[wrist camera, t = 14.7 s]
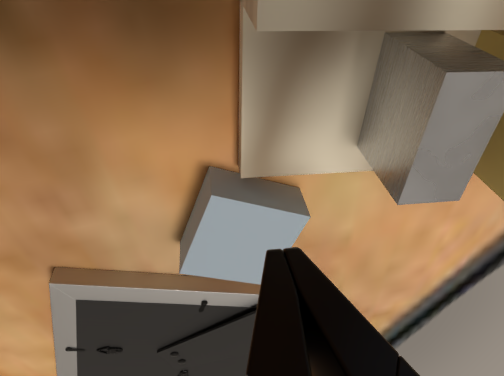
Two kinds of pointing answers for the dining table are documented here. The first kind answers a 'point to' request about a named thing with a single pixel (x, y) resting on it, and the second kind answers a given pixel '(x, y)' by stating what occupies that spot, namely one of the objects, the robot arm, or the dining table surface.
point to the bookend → (430, 114)
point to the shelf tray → (326, 74)
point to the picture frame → (150, 323)
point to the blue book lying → (239, 226)
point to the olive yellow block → (500, 144)
